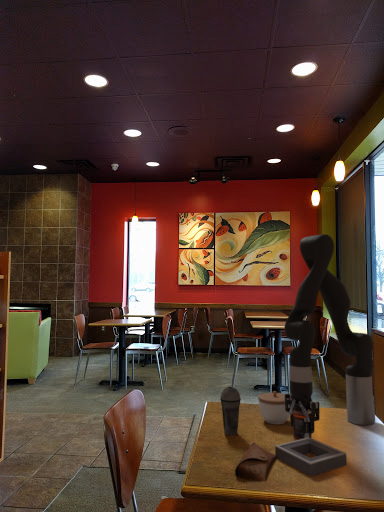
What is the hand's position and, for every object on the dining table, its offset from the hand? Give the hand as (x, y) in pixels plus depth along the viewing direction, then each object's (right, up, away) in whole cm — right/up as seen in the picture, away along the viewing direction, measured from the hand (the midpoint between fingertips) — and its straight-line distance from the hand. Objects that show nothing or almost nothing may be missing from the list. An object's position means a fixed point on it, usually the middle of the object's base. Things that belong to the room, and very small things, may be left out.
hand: (302, 429), depth 130 cm
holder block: (-3, -1, -18) cm, 18 cm away
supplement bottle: (0, -3, 0) cm, 3 cm away
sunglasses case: (-18, -2, -21) cm, 28 cm away
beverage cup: (-23, -4, +5) cm, 24 cm away
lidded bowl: (-5, -5, +17) cm, 19 cm away
